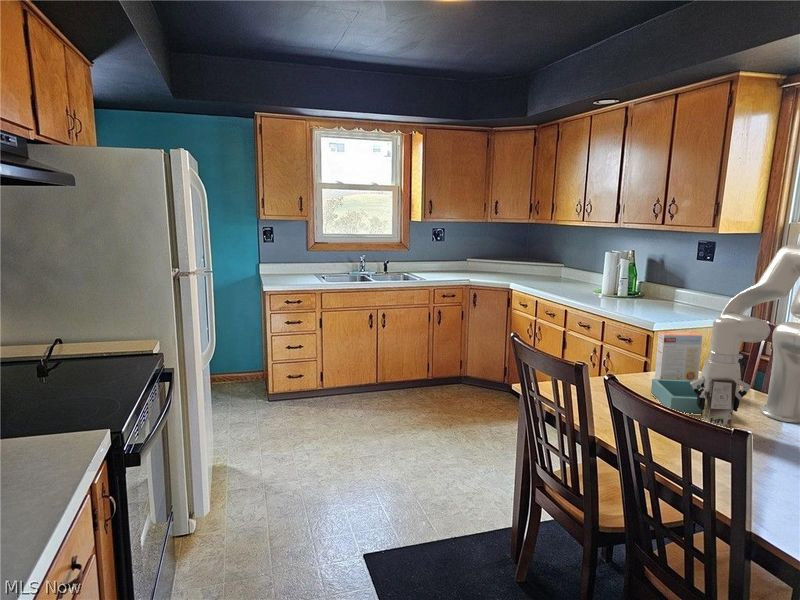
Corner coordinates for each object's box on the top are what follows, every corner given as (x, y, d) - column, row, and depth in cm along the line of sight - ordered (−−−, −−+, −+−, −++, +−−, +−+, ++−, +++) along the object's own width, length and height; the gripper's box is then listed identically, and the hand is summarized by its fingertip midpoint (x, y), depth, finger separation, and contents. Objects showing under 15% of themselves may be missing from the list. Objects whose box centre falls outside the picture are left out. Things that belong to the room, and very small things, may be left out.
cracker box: (690, 382, 195) (695, 331, 191) (697, 387, 190) (703, 335, 186) (653, 381, 197) (658, 330, 193) (659, 386, 191) (664, 334, 187)
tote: (702, 396, 181) (704, 381, 180) (727, 417, 163) (729, 400, 162) (650, 394, 183) (652, 378, 182) (669, 414, 166) (671, 397, 165)
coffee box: (731, 432, 152) (737, 383, 149) (707, 430, 154) (713, 381, 151) (722, 420, 161) (728, 373, 158) (699, 418, 163) (705, 371, 160)
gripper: (747, 354, 156) (740, 405, 159) (688, 352, 158) (682, 403, 161) (760, 362, 148) (753, 415, 152) (699, 360, 151) (692, 412, 154)
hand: (716, 409), depth 156 cm, fingers open, 9 cm apart
